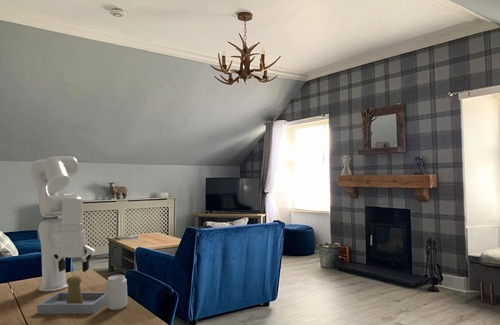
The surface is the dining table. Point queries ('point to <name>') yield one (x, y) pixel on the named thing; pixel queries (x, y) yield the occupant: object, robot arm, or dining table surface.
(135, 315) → the dining table surface
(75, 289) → the pepper mill
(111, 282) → the can
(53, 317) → the dining table surface
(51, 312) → the tray
